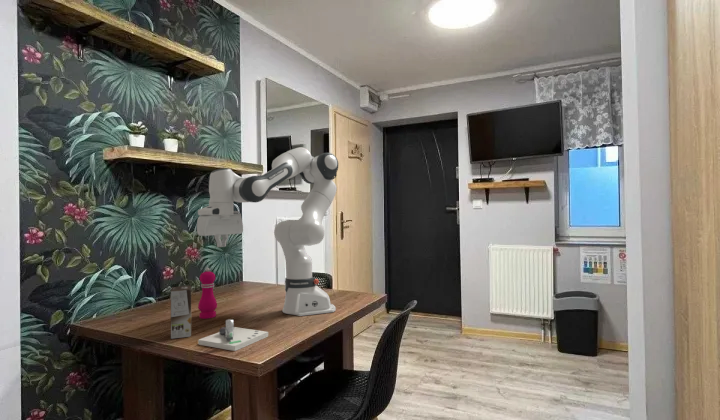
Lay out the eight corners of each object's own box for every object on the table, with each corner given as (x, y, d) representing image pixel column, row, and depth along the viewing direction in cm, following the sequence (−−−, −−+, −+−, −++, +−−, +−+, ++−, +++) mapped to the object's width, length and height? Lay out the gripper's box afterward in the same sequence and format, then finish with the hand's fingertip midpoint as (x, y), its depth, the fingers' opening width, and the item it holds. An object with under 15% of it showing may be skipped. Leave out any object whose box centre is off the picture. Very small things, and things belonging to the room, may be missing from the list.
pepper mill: (220, 314, 161) (220, 266, 161) (212, 319, 153) (211, 268, 154) (203, 314, 161) (203, 266, 162) (194, 318, 154) (194, 268, 154)
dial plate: (233, 331, 137) (233, 326, 137) (268, 336, 130) (268, 331, 130) (198, 344, 123) (198, 339, 123) (235, 351, 116) (235, 345, 116)
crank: (218, 332, 129) (218, 314, 129) (232, 330, 131) (232, 312, 131) (222, 341, 118) (222, 322, 118) (237, 339, 120) (237, 320, 120)
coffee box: (191, 336, 131) (191, 289, 131) (170, 339, 128) (170, 290, 129) (191, 329, 139) (191, 285, 140) (171, 332, 137) (171, 286, 137)
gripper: (234, 211, 159) (234, 244, 158) (194, 210, 140) (194, 248, 140) (246, 210, 156) (246, 245, 156) (206, 210, 138) (206, 249, 137)
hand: (221, 246), depth 148 cm, fingers closed
